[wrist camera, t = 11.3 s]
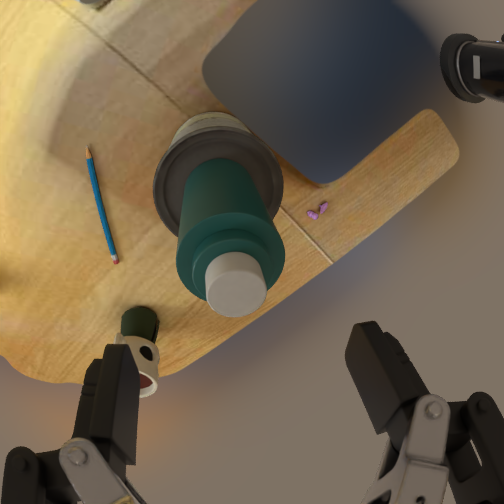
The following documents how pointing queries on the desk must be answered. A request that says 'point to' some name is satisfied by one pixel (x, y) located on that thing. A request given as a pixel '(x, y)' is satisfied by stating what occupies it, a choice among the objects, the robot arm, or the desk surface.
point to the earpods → (315, 216)
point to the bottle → (227, 239)
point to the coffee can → (207, 148)
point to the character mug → (142, 345)
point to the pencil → (100, 205)
